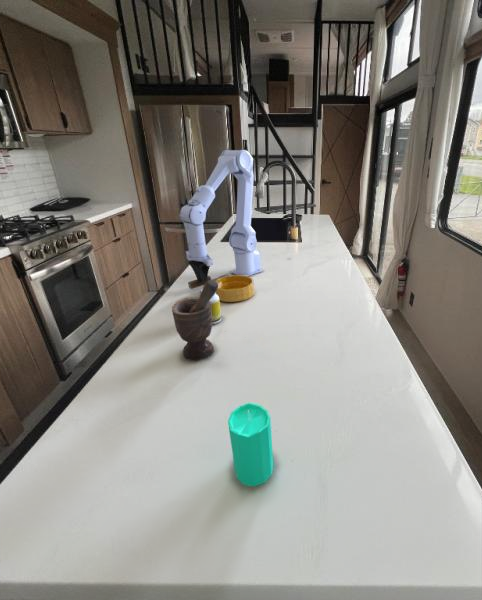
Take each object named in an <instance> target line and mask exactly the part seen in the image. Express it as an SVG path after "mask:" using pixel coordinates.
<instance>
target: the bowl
mask: <svg viewBox="0 0 482 600" xmlns="http://www.w3.org/2000/svg"><path fill="white" fill-rule="evenodd" d="M230 275H231V276H225V277H222V278H219V279H217V280H216V282H217V283H218V288H217V291H216V295H218V296H219V301H221V302H227V303H228V302H229V303H232V302H233V303H234V302H241V301H245V300H248V299H250V298H251V297H253V296H254V294H255V280H254V279H253V277H251V276H244V275H236V274H230Z"/></svg>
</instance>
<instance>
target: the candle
mask: <svg viewBox="0 0 482 600" xmlns="http://www.w3.org/2000/svg"><path fill="white" fill-rule="evenodd" d="M271 422H272V421H271V416H270V414H269V411H268V410H267V409H266V408H264V406H262V405H260V404H256V403H253V402H247V403H245V404H242V405H239V406H238V407H236V408H235V409H234V410H232V411H231V412H230V415H229V416H228V419H227V424H228V430H229V431H228V432H229V438H230V439H229V440H230V445H231V452H232V459H233V467H234V472H235V476H236V479H237V480H238V481H239V483H241V484H242V485H243V486H248V487H257V486H260V485H262V484H265V483H266V482H267V481H268V480H269V479H270V478H271V477H272V474H273V471H274V455H273V454H274V452H273V439H272V438H273V437H272V424H271Z"/></svg>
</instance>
